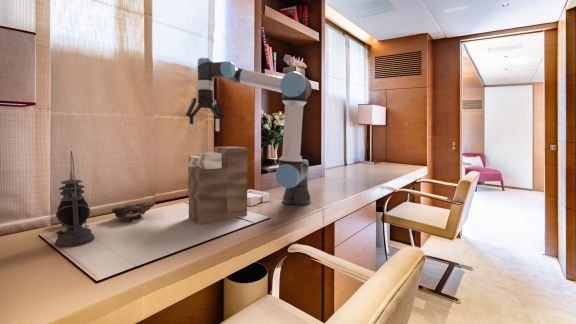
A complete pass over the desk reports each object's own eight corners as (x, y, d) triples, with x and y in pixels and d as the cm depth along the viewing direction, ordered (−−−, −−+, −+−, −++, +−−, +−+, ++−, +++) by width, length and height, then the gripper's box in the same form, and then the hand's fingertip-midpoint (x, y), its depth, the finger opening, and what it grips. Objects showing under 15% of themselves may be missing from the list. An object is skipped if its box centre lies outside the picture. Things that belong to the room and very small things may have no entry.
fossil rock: (136, 224, 116) (136, 210, 115) (106, 222, 119) (106, 207, 118) (159, 215, 129) (159, 202, 129) (131, 213, 132) (131, 200, 132)
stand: (188, 218, 126) (187, 147, 123) (234, 210, 140) (234, 146, 137) (200, 224, 118) (199, 149, 115) (247, 215, 132) (247, 147, 129)
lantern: (53, 239, 99) (47, 149, 96) (90, 232, 106) (86, 148, 103) (56, 251, 90) (50, 152, 87) (97, 243, 97) (93, 151, 94)
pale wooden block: (184, 164, 133) (184, 150, 132) (199, 163, 137) (199, 150, 137) (205, 169, 117) (205, 154, 117) (221, 168, 122) (221, 153, 121)
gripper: (223, 92, 165) (223, 131, 167) (178, 87, 148) (179, 130, 150) (230, 91, 159) (230, 131, 161) (184, 86, 143) (185, 130, 145)
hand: (205, 131), depth 156 cm, fingers open, 13 cm apart
